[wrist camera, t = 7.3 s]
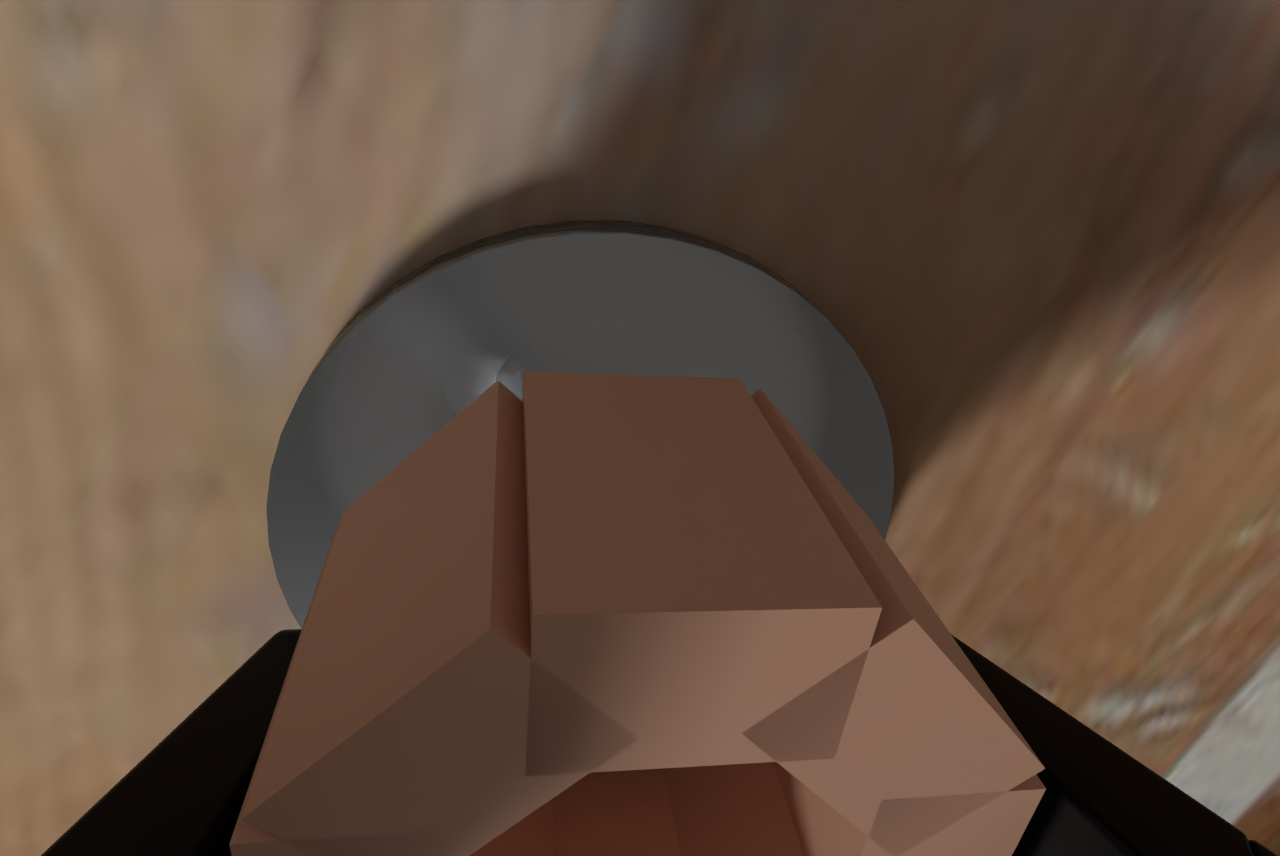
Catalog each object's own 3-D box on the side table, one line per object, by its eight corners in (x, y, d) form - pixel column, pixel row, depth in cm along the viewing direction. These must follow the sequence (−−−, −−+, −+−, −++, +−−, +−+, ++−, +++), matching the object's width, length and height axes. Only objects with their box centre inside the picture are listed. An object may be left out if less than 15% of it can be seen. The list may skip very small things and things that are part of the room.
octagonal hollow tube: (910, 384, 8) (1142, 601, 5) (800, 765, 11) (910, 1052, 8) (318, 363, 7) (178, 622, 4) (360, 791, 10) (295, 1132, 7)
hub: (812, 711, 13) (885, 885, 10) (312, 734, 12) (255, 943, 9) (945, 243, 9) (1112, 333, 7) (237, 195, 8) (105, 285, 5)
